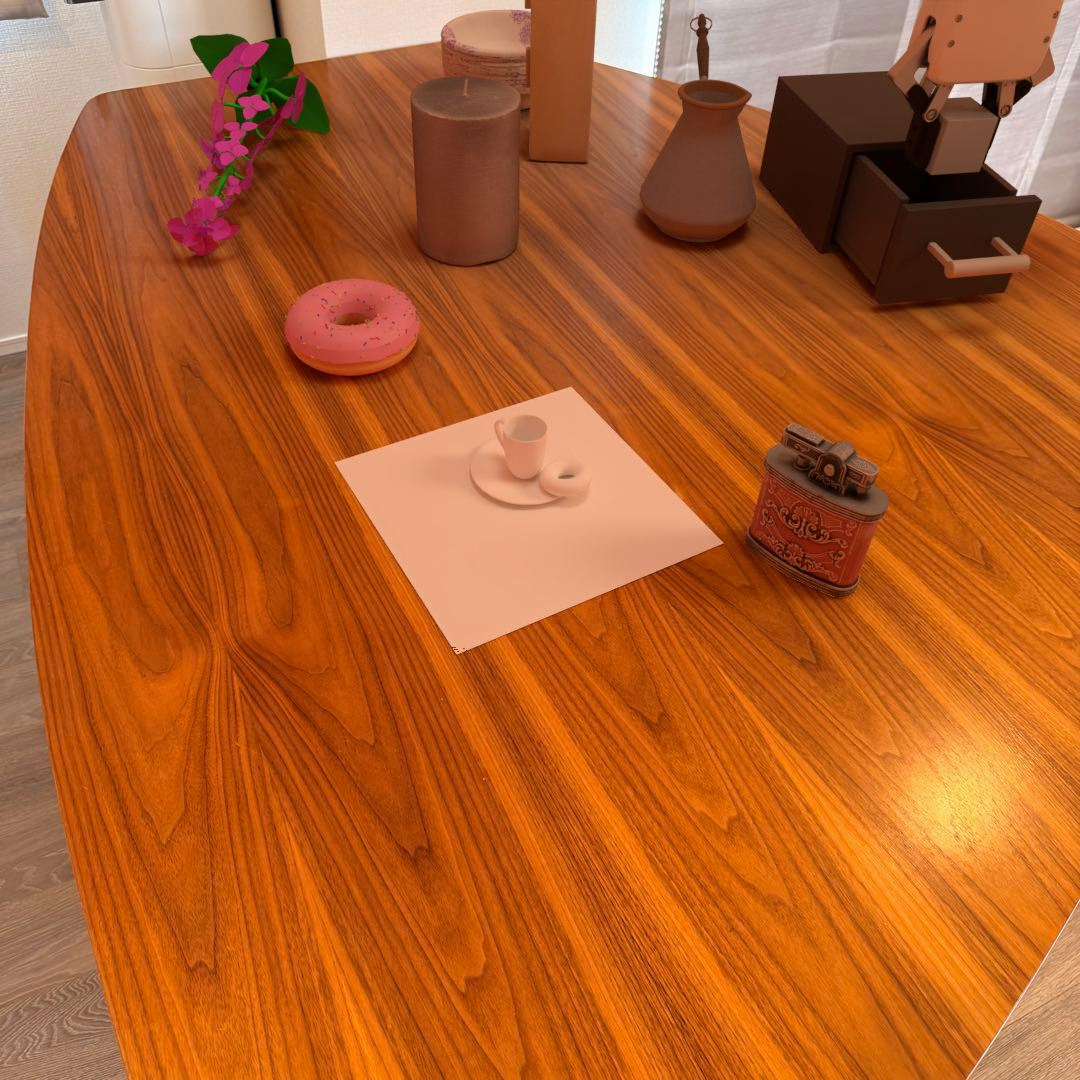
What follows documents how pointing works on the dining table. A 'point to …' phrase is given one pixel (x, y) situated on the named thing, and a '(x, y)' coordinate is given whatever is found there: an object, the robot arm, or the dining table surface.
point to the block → (961, 137)
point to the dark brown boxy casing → (827, 142)
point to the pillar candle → (466, 168)
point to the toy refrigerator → (560, 78)
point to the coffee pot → (702, 161)
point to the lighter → (816, 511)
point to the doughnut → (352, 327)
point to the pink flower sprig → (244, 123)
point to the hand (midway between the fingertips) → (943, 158)
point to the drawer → (931, 228)
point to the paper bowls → (489, 47)
